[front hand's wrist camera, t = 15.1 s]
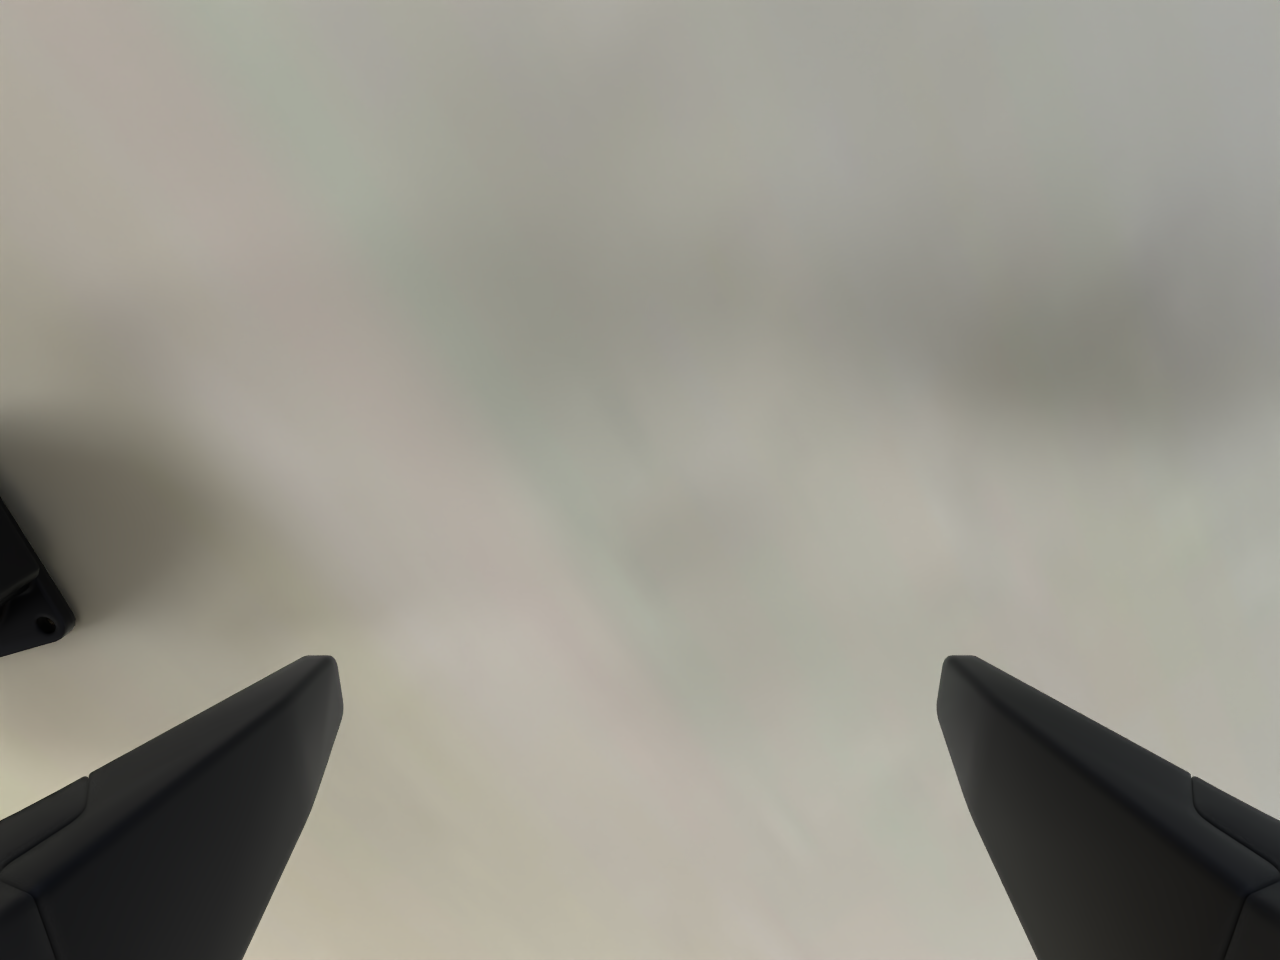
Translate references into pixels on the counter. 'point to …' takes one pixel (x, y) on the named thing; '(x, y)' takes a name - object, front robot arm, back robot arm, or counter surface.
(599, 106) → the counter surface
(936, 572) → the counter surface
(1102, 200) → the counter surface
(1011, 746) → the front robot arm
